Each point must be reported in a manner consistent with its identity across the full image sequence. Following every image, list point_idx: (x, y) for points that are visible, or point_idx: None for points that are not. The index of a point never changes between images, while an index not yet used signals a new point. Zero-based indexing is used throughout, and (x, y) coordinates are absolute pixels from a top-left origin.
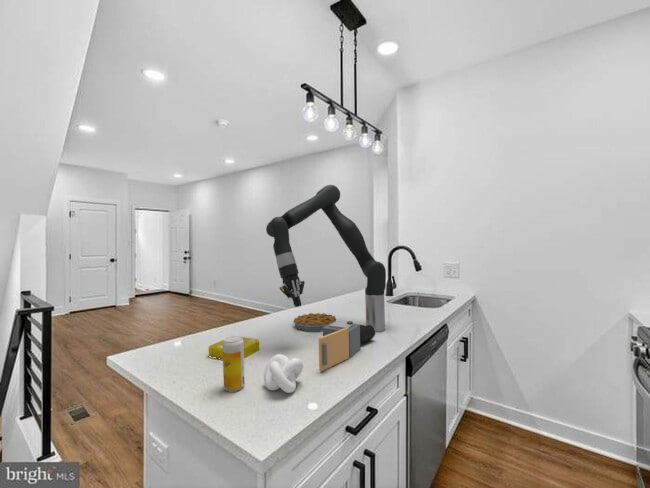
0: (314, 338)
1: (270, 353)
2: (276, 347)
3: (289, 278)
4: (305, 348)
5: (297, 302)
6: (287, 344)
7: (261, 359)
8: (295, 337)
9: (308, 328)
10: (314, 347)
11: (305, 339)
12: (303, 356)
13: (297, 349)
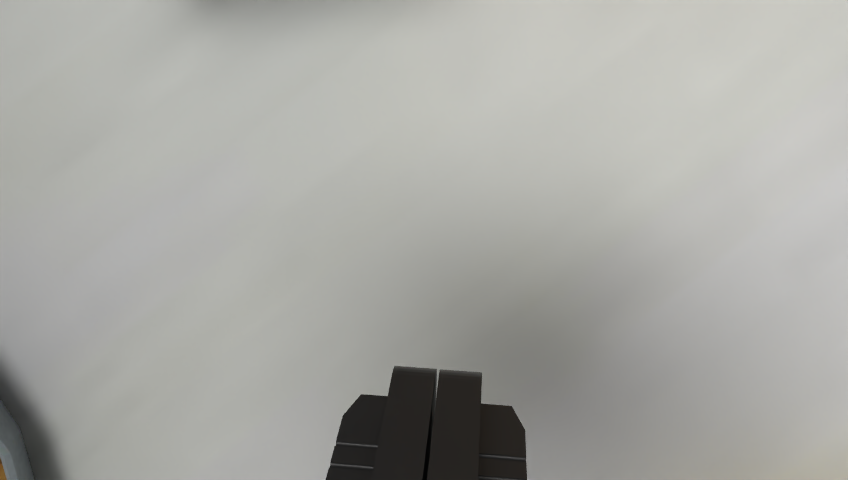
0: (150, 280)
1: (678, 396)
2: (530, 443)
3: None
4: (412, 193)
5: (478, 449)
6: None
7: (835, 374)
8: (231, 452)
9: (15, 458)
10: (344, 131)
11: (220, 339)
12: (591, 80)
13: (472, 243)
